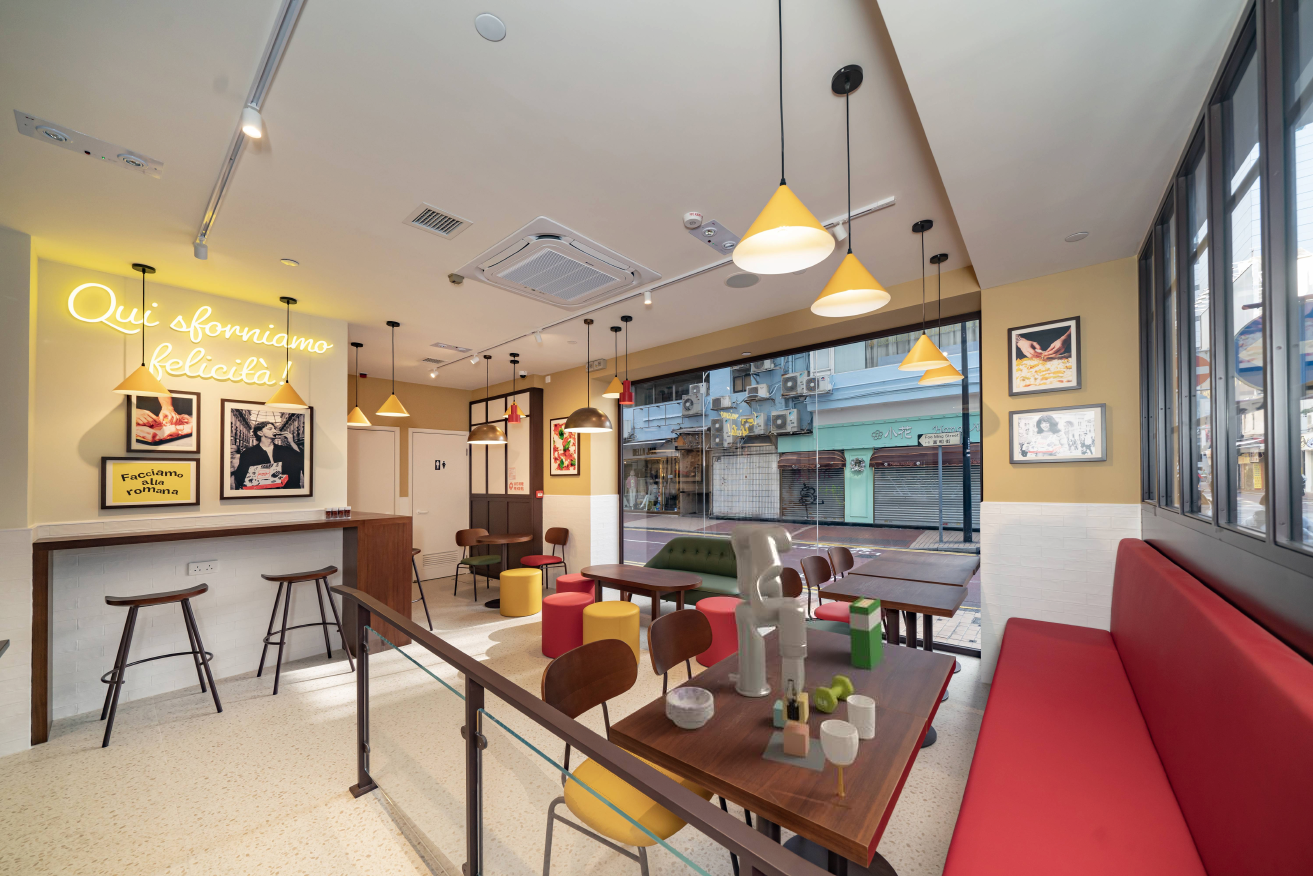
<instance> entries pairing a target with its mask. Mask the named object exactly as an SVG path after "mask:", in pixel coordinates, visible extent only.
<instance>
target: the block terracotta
mask: <svg viewBox="0 0 1313 876" xmlns="http://www.w3.org/2000/svg"><path fill="white" fill-rule="evenodd" d="M782 732H783V743H784V753H788V754H792V755H797V756H801V757H806V756H807V753H808V750H809V747H810V746H809V738H810V727H809V724H806V723H805V724H800V723H795V722H790V721H787V723H786V725H785V727H784V728H783V729H782Z"/></svg>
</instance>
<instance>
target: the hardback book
mask: <svg viewBox="0 0 1313 876" xmlns="http://www.w3.org/2000/svg"><path fill="white" fill-rule="evenodd" d="M848 608H849V631H850V632H849V633H850V651H851V655H850V656H851V666H852V667H856V668H860V669H865V670H868V671H872V670H873V669H874V668H875V666H876V665H877V664H878V663H879V662H880V661H881V659H882V658H884V657H883V656H884V655H883V654H884V653H883V652H884V651H883V650H884V649H883V637H882V636H883V635H882V634H883V633H882V632H883V631H882V629H883V628H882V611H881V610H882V609H881V599H880V598H877V599H868V598H865V596H861V597H859V598H858V599H857V600H855V601H853V602H851V604H849V606H848Z"/></svg>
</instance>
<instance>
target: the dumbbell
mask: <svg viewBox="0 0 1313 876" xmlns="http://www.w3.org/2000/svg"><path fill="white" fill-rule="evenodd" d="M829 686H830V688H828V687H825V686H819V687H817V689H816V690H815V691H814V693H813V696H812V698H813V701H814V703H815V705H816V707H817V709H818V710H819V711H822V712H824V713H828V714H831V713H832V712H833V711H834V710H835V708H836V707H837V706H838V699H839V700H842V701H847V697H849V696H851V695H853V694H854V691H855V690H854V687H853V685H852V682H851V680H850V679H849V678H848V677H847V676H841V675H836V676H834V677H833V678H832V680H831V682H830V685H829Z"/></svg>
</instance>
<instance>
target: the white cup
mask: <svg viewBox="0 0 1313 876" xmlns="http://www.w3.org/2000/svg"><path fill="white" fill-rule="evenodd" d="M846 705H847V706H846V707H847V718H848V723H850V724H852V725H853V726H854V727H855V728H856V730H857V733H858V738H859V739H861V740H862V739H863V740H870V739H873V738H874V737H875V734H876V733H875V727H876V702H875V700H874V699H873V698H871V697H868V696H866V695H860V694H854V695H853V694H852V695H851V696H849V697H847V700H846Z"/></svg>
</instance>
